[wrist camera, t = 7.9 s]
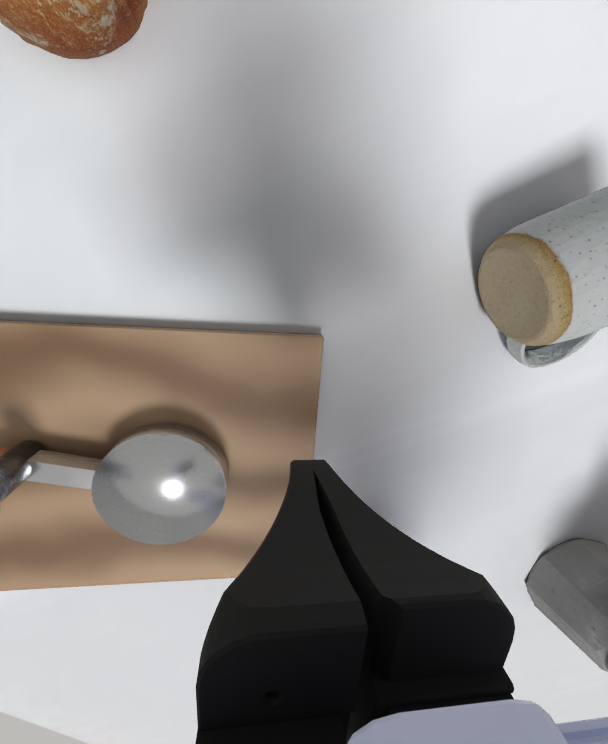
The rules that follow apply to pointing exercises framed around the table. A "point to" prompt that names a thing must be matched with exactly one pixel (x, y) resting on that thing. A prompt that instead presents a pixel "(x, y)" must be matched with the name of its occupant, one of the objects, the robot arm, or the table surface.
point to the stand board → (139, 408)
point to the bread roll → (74, 24)
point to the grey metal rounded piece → (136, 480)
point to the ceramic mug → (550, 281)
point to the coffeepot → (575, 594)
